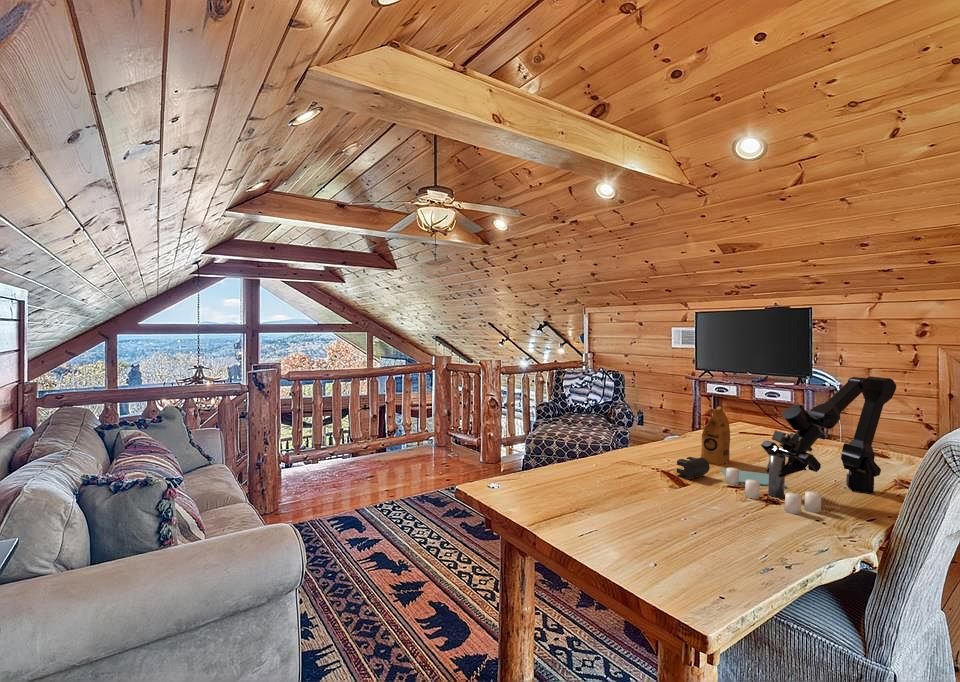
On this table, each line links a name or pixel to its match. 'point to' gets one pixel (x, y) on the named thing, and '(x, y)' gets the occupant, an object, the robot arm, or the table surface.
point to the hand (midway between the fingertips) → (773, 474)
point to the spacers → (790, 498)
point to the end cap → (692, 467)
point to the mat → (752, 477)
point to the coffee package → (716, 438)
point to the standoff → (776, 476)
